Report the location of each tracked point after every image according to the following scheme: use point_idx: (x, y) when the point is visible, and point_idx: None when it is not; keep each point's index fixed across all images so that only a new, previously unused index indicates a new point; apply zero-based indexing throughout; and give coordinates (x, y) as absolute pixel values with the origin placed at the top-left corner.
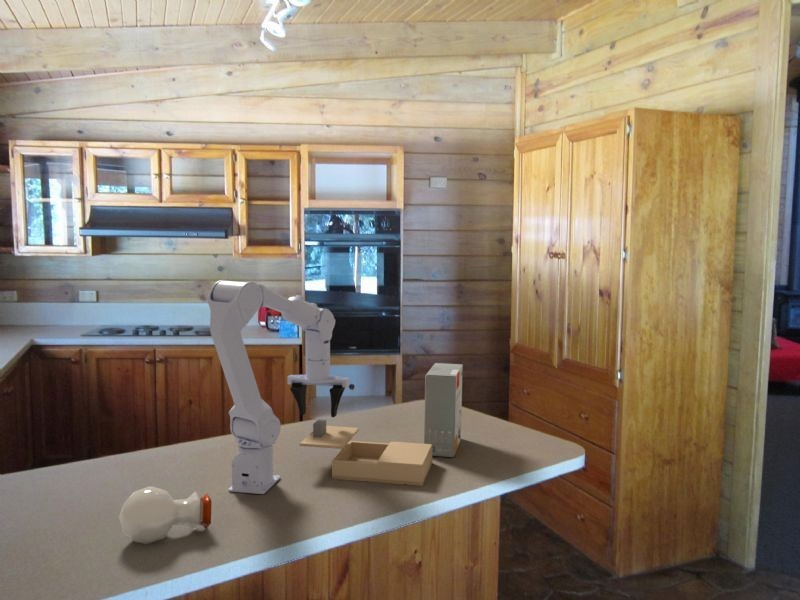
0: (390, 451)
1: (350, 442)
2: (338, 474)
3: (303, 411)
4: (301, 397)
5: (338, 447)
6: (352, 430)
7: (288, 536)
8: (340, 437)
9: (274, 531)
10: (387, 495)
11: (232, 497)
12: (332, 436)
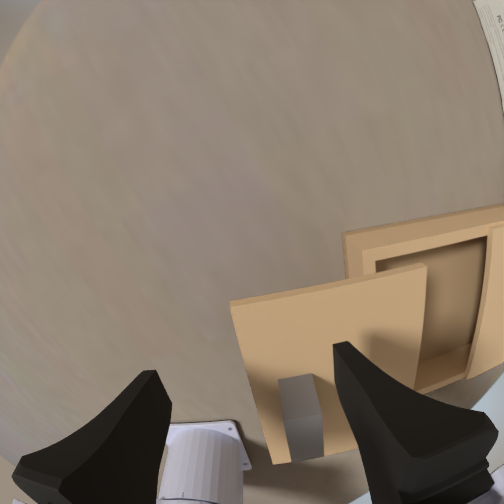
0: (494, 311)
1: (372, 266)
2: None
3: (164, 409)
4: (148, 486)
5: None
6: (410, 311)
7: (345, 497)
8: None
9: (325, 499)
10: (459, 385)
11: None
12: None
